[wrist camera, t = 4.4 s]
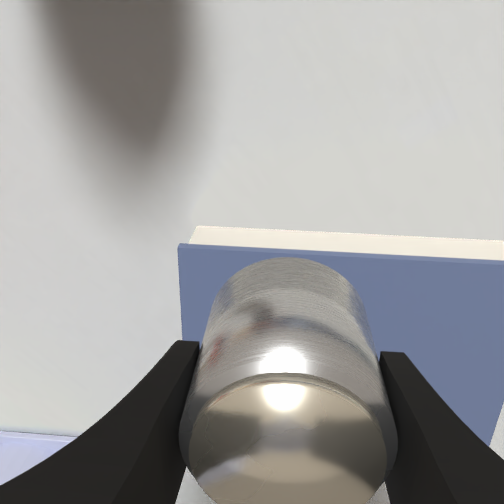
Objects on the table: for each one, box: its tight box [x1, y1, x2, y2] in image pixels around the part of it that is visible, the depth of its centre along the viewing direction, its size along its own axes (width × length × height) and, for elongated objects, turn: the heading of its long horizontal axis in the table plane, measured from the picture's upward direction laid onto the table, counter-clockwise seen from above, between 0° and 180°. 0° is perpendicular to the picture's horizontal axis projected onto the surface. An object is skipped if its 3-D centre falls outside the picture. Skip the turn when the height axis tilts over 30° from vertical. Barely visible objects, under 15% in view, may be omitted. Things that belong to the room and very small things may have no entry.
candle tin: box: [179, 257, 398, 504], centre depth 12 cm, size 5×5×5 cm
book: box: [178, 226, 504, 447], centre depth 22 cm, size 10×14×3 cm
